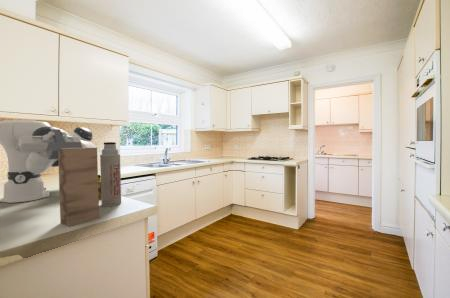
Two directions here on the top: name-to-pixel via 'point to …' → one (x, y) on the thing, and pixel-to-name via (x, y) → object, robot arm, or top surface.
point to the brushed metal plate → (59, 144)
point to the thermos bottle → (110, 175)
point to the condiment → (99, 187)
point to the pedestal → (78, 185)
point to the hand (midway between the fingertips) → (58, 133)
